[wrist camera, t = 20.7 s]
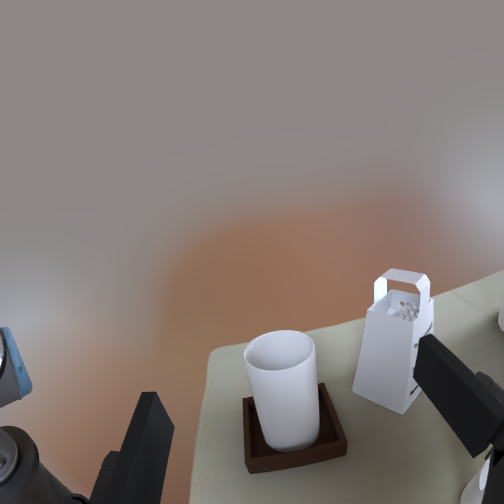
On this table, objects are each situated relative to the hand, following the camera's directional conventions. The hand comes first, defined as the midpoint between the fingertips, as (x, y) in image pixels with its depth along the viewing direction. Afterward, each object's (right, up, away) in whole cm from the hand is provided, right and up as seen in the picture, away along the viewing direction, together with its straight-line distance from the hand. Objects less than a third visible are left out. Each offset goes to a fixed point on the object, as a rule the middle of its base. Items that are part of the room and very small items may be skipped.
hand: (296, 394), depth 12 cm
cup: (+4, -20, +23) cm, 30 cm away
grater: (+22, -16, +27) cm, 38 cm away
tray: (+4, -20, +23) cm, 31 cm away
